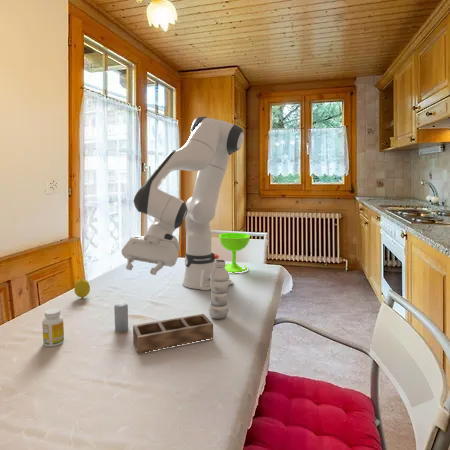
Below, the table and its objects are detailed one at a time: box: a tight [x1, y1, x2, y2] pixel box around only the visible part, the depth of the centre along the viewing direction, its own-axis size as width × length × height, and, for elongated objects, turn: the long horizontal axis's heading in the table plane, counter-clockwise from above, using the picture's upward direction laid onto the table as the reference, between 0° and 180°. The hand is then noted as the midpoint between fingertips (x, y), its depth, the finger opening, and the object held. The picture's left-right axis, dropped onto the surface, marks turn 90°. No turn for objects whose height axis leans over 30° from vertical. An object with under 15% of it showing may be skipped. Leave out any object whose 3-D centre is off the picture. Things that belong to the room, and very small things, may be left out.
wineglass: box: [218, 232, 251, 273], centre depth 175 cm, size 16×16×18 cm
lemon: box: [73, 277, 91, 299], centre depth 131 cm, size 6×6×8 cm
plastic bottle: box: [208, 259, 230, 320], centre depth 116 cm, size 6×7×20 cm
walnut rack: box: [132, 313, 214, 355], centre depth 100 cm, size 22×8×5 cm, turn 115°
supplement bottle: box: [41, 307, 65, 348], centre depth 97 cm, size 5×5×10 cm
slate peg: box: [113, 302, 129, 334], centre depth 106 cm, size 4×4×8 cm
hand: (140, 271), depth 114 cm, fingers open, 8 cm apart
